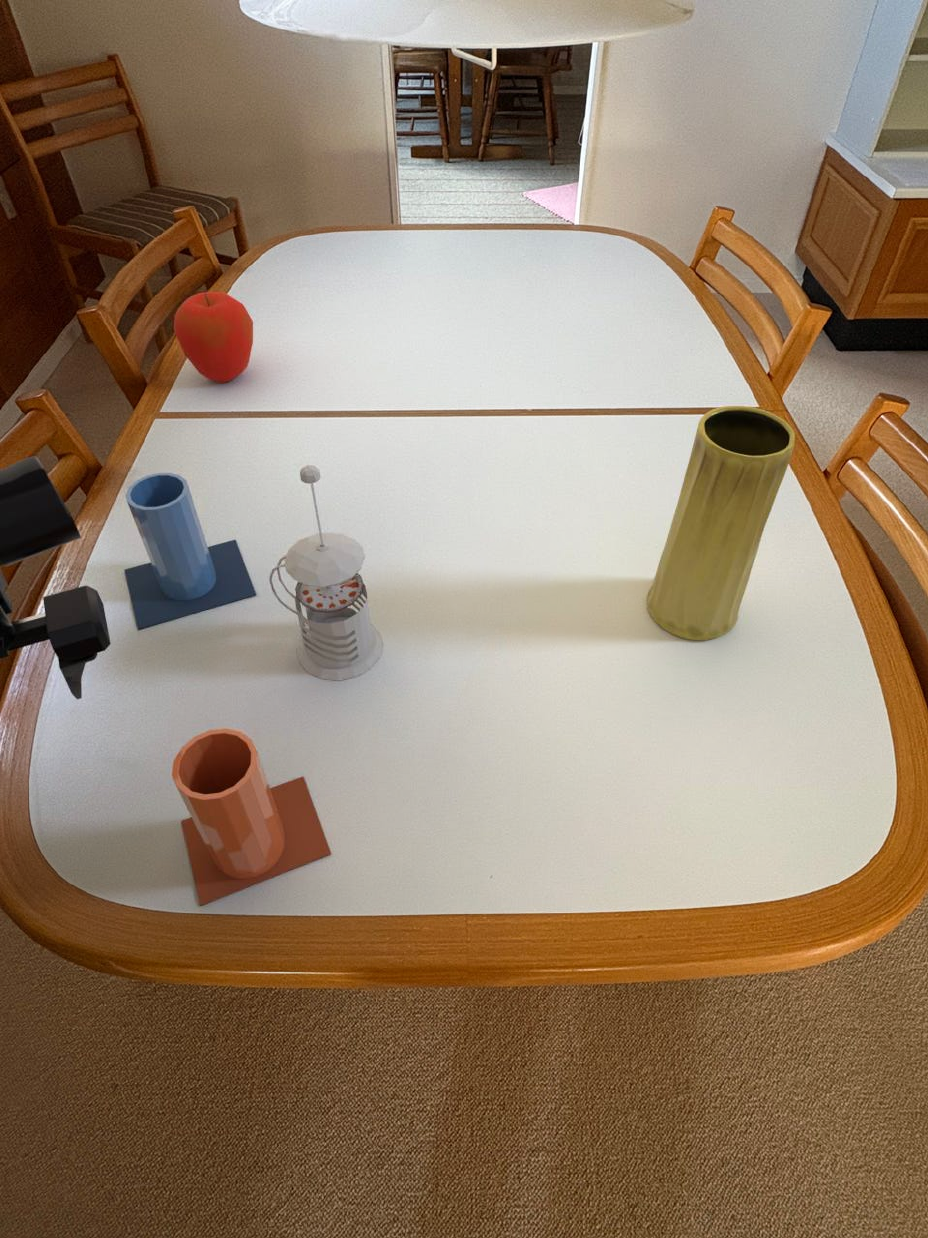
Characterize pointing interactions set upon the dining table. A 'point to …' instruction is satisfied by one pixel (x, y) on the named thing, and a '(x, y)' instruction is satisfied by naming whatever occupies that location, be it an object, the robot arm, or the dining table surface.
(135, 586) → the blue pad
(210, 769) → the terracotta tumbler
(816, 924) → the dining table surface
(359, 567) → the french press
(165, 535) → the blue tumbler
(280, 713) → the dining table surface
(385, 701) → the dining table surface
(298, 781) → the clay pad
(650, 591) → the vase
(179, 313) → the apple
